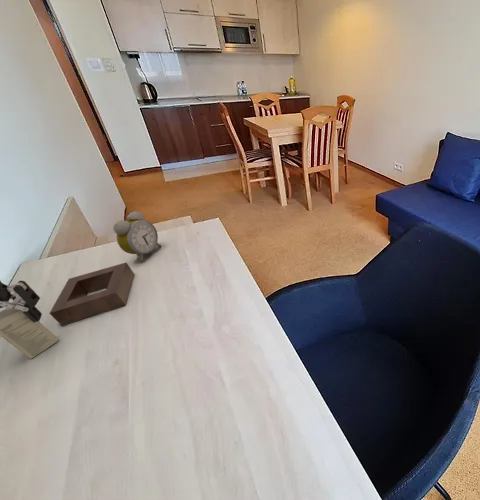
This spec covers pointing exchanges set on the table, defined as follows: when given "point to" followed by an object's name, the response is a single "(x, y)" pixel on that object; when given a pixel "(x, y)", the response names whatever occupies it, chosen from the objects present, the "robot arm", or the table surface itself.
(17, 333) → the cosmetic box
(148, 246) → the alarm clock
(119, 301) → the socket block
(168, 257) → the table surface
